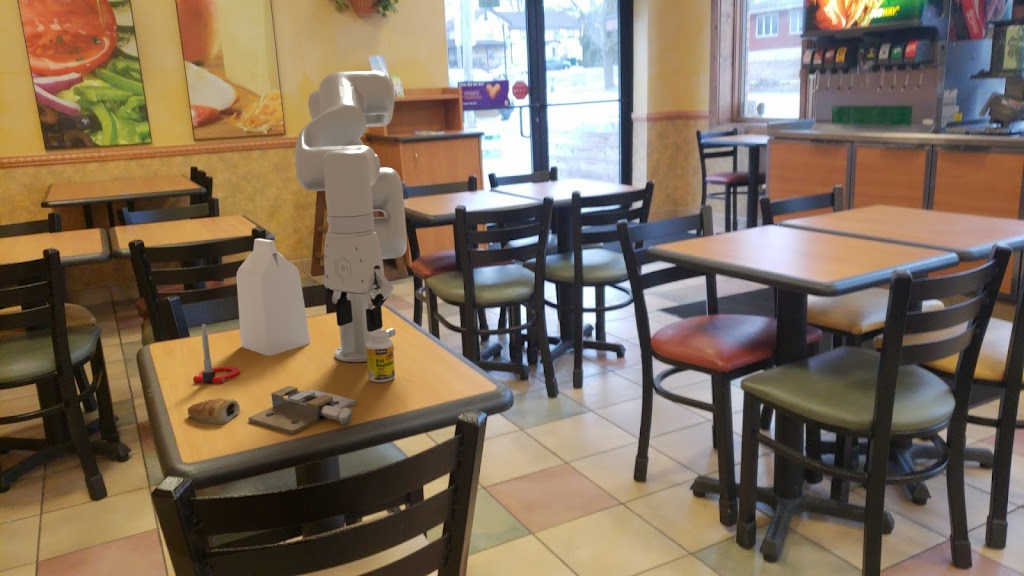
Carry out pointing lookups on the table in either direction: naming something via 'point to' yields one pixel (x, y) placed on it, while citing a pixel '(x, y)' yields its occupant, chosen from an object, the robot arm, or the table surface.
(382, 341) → the supplement bottle
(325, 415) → the pin
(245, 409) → the table surface
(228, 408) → the pastry
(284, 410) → the hinge leaves
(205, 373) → the tow hook
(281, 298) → the milk
